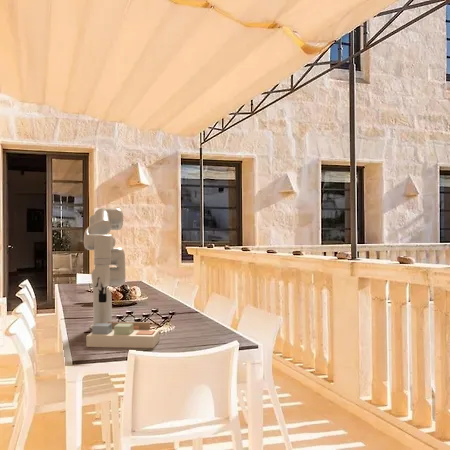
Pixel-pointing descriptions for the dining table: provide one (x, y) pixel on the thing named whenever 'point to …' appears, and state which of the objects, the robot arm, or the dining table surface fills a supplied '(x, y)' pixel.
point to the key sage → (123, 328)
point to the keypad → (125, 337)
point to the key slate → (102, 328)
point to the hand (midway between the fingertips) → (102, 302)
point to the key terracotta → (145, 332)
